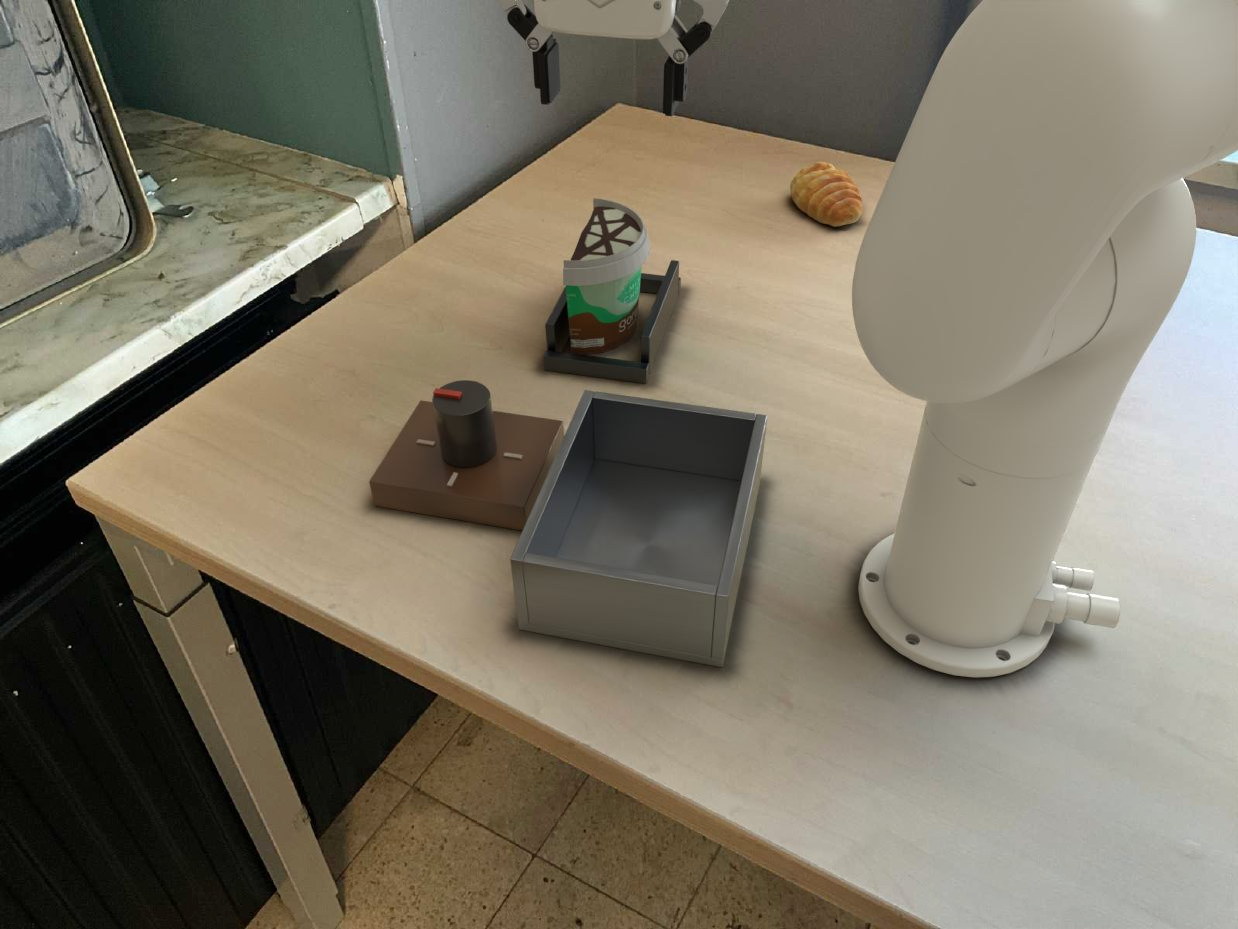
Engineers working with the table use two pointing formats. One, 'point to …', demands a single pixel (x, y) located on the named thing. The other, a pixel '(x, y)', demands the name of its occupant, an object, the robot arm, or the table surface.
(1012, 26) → the robot arm
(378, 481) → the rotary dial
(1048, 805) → the table surface
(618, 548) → the grey open box
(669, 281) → the dish rack
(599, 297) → the food container
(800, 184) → the pastry
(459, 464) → the tap knob
